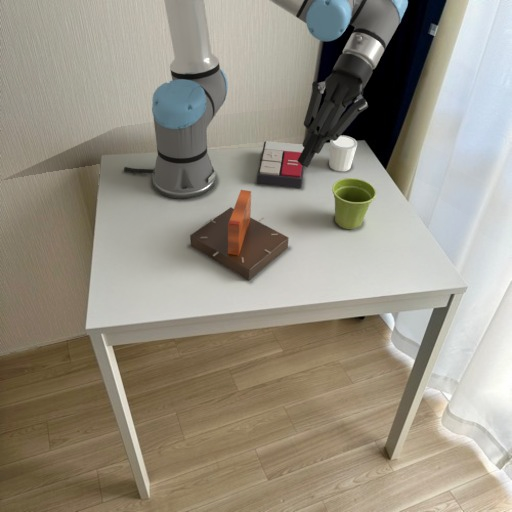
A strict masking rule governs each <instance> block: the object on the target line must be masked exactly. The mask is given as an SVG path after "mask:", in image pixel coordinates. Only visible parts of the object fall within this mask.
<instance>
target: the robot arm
mask: <svg viewBox="0 0 512 512" xmlns="http://www.w3.org/2000/svg"><path fill="white" fill-rule="evenodd" d="M269 1H270V2H271V3H273V4H275V6H278V7H279V8H281V9H283V10H284V11H286V12H287V13H288V14H291V15H292V16H293V17H296V18H297V19H299V20H300V21H302V22H303V23H304V24H306V27H307V30H308V32H309V34H310V35H311V36H312V37H313V38H314V39H317V40H318V41H321V42H333V41H335V40H337V39H338V38H340V37H341V36H342V35H343V34H344V32H345V31H346V29H347V28H348V27H349V26H352V27H354V29H353V31H352V32H351V35H350V37H349V39H348V40H347V42H346V44H345V46H344V48H343V50H342V54H340V55H339V56H338V59H337V60H336V62H335V64H334V66H333V68H332V71H331V74H330V75H329V76H327V77H326V78H325V80H324V81H321V82H318V81H316V80H315V81H312V82H311V83H312V84H311V87H312V88H311V89H312V93H311V96H310V99H309V103H308V106H307V110H306V114H305V118H304V121H303V126H304V127H305V128H306V130H307V131H308V132H307V133H306V136H305V138H304V139H303V142H302V146H303V147H304V149H303V151H302V153H301V155H300V157H299V159H298V160H297V161H298V162H299V163H300V164H301V165H303V166H304V168H309V166H310V164H311V162H312V160H313V158H314V157H315V154H317V155H319V154H320V153H321V151H322V150H323V148H324V146H325V144H326V142H327V141H330V140H333V141H335V140H337V139H338V138H339V136H340V135H342V134H343V133H344V132H345V131H346V130H347V128H348V127H349V126H350V125H351V123H353V121H354V120H355V119H356V118H357V116H359V114H360V113H362V112H364V110H367V109H368V108H369V105H368V101H367V100H366V98H364V96H363V94H364V89H365V87H366V85H367V83H368V82H369V80H370V78H371V77H372V74H373V70H375V69H376V68H377V66H378V64H379V62H380V59H381V57H382V56H383V54H384V52H385V50H386V49H387V46H388V44H389V43H390V41H391V39H392V37H393V36H394V34H395V33H396V31H397V28H398V26H399V25H400V24H401V22H402V19H403V17H404V15H405V12H406V11H407V8H408V4H409V0H269ZM163 2H164V6H165V13H166V17H167V24H168V29H169V35H170V39H171V45H172V50H173V56H174V59H173V60H172V62H171V63H170V64H169V71H170V76H171V80H169V82H164V83H162V84H161V85H159V86H158V87H157V88H156V89H155V90H154V92H153V95H152V104H151V105H152V106H151V111H152V117H153V124H154V125H153V126H154V134H155V141H156V152H157V156H156V159H155V164H154V168H135V167H134V168H133V167H128V166H124V167H123V170H124V172H128V173H137V174H138V173H139V174H151V177H152V185H153V187H154V189H155V190H156V191H157V192H158V193H159V194H161V195H163V196H165V197H168V198H172V199H179V200H187V199H194V198H198V197H201V196H204V195H205V194H207V193H209V192H210V191H212V189H214V187H215V185H216V170H215V169H214V166H213V163H212V160H211V157H210V156H209V153H208V134H207V133H208V127H209V125H210V123H211V122H212V120H213V119H214V118H215V116H216V114H217V113H218V112H219V111H220V109H221V107H222V106H223V105H224V103H225V101H226V99H227V95H228V91H229V90H228V88H229V84H228V79H227V76H226V74H225V72H224V70H223V69H222V68H221V65H220V60H219V58H218V56H216V55H214V54H213V53H212V47H211V41H210V33H209V26H208V25H209V24H208V19H207V11H206V5H205V4H206V3H205V0H163ZM324 93H325V96H324V98H323V103H322V104H321V100H322V95H323V94H324ZM352 103H353V104H352ZM320 104H321V105H320ZM351 104H352V105H351ZM349 105H350V107H349V108H348V109H347V107H348V106H349ZM346 109H347V110H346ZM345 111H346V112H345Z"/></svg>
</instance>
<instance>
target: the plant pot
mask: <svg viewBox="0 0 512 512" xmlns="http://www.w3.org/2000/svg"><path fill="white" fill-rule="evenodd" d="M331 190H332V194H333V198H334V222H335V223H336V224H337V225H338V226H339V227H340V228H342V229H345V230H354V229H356V228H360V227H361V226H362V225H363V221H364V219H365V216H366V214H367V211H368V209H369V207H370V204H371V203H372V202H373V201H374V200H375V199H376V196H377V190H376V188H375V187H374V186H373V184H372V183H370V182H368V181H367V180H364V179H360V178H355V177H347V178H342V179H339V180H337V181H335V182H334V184H332V189H331Z"/></svg>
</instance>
